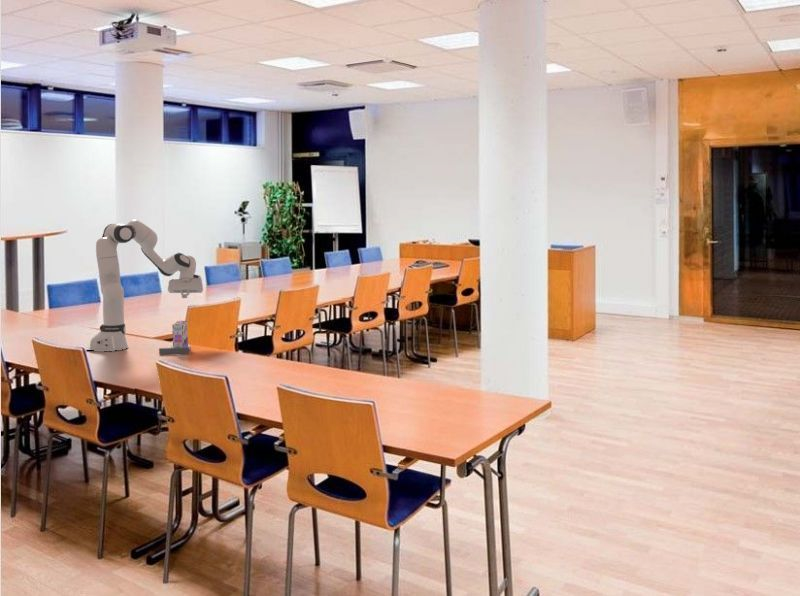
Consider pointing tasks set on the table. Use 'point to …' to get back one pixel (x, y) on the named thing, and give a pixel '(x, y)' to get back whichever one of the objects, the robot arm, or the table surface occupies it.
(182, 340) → the candy box
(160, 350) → the slide guide
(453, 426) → the table surface
